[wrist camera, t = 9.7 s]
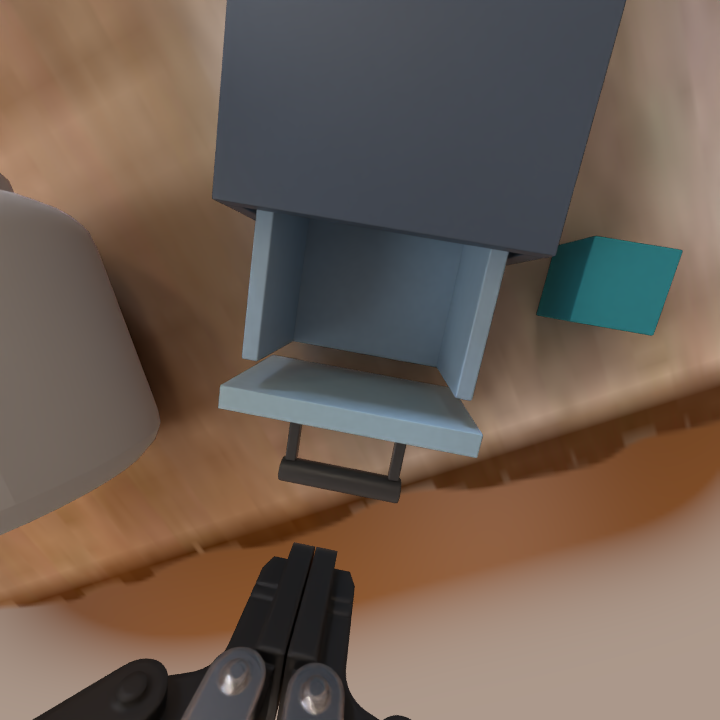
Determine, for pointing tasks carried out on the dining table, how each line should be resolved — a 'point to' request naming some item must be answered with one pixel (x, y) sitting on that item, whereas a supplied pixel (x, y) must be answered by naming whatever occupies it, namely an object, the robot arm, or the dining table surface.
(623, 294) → the teal cube block
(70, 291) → the grey rounded piece
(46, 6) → the dining table surface
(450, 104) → the cabinet
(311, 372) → the drawer
